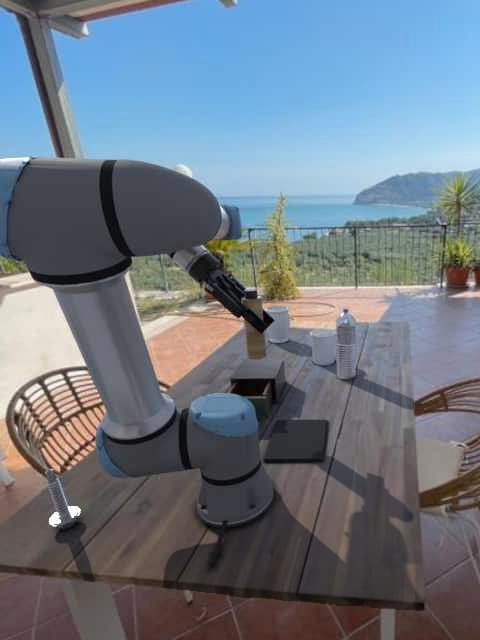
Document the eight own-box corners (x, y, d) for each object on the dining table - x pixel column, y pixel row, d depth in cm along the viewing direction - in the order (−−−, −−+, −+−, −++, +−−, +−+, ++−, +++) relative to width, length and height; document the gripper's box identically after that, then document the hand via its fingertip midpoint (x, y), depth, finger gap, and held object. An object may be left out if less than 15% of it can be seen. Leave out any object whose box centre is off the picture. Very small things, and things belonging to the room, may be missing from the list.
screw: (88, 514, 78) (73, 533, 73) (62, 515, 77) (46, 535, 73) (70, 460, 73) (53, 477, 69) (43, 461, 73) (24, 478, 68)
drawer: (264, 427, 106) (262, 405, 104) (218, 427, 106) (215, 406, 103) (277, 395, 124) (275, 376, 121) (237, 396, 123) (235, 376, 121)
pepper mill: (264, 359, 102) (258, 291, 96) (245, 359, 102) (237, 291, 96) (268, 352, 107) (262, 287, 101) (250, 352, 107) (243, 287, 101)
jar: (263, 343, 172) (260, 310, 166) (272, 336, 181) (269, 304, 176) (286, 345, 170) (284, 311, 164) (294, 337, 179) (292, 305, 174)
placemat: (322, 461, 94) (322, 458, 94) (264, 461, 94) (263, 459, 93) (326, 421, 111) (326, 419, 110) (277, 422, 110) (277, 419, 110)
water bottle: (353, 381, 136) (353, 312, 127) (334, 379, 137) (333, 310, 128) (357, 373, 142) (357, 306, 133) (339, 371, 143) (338, 305, 134)
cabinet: (277, 403, 121) (275, 378, 118) (233, 403, 121) (230, 378, 117) (285, 381, 135) (283, 358, 132) (246, 381, 135) (243, 359, 132)
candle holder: (341, 360, 154) (340, 331, 150) (326, 368, 146) (325, 338, 142) (321, 355, 159) (320, 327, 154) (306, 362, 151) (304, 333, 147)
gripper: (204, 267, 106) (268, 326, 111) (170, 279, 89) (247, 348, 94) (221, 247, 104) (286, 308, 109) (189, 255, 87) (267, 327, 92)
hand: (268, 326), depth 101 cm, fingers closed on pepper mill, 5 cm apart
